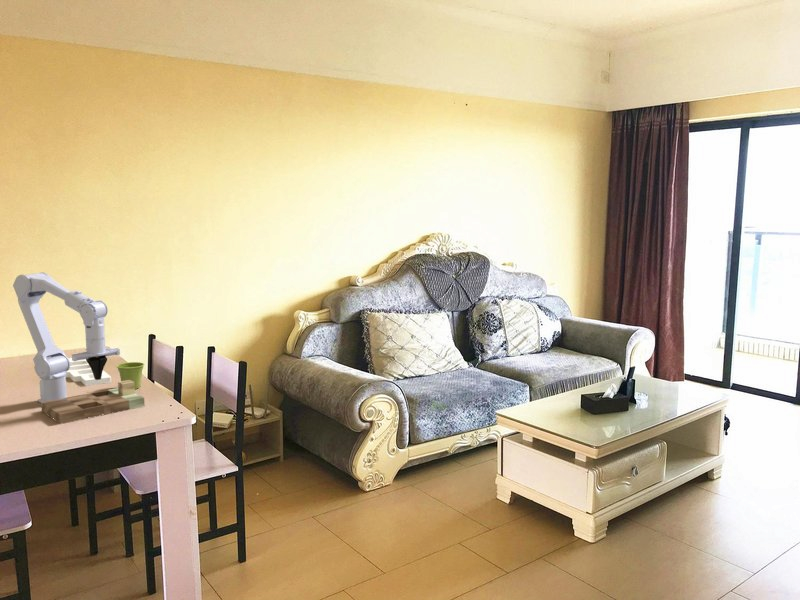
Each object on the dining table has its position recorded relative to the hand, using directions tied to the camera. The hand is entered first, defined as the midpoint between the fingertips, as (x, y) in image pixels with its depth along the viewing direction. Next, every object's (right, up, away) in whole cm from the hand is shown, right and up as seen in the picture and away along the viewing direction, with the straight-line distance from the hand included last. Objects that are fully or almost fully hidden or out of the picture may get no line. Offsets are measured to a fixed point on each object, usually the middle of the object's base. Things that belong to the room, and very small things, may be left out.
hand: (97, 379), depth 215 cm
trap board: (-1, -10, -1) cm, 10 cm away
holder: (-30, -4, +45) cm, 54 cm away
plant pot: (+1, -6, +24) cm, 25 cm away
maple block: (+7, -6, +6) cm, 11 cm away
